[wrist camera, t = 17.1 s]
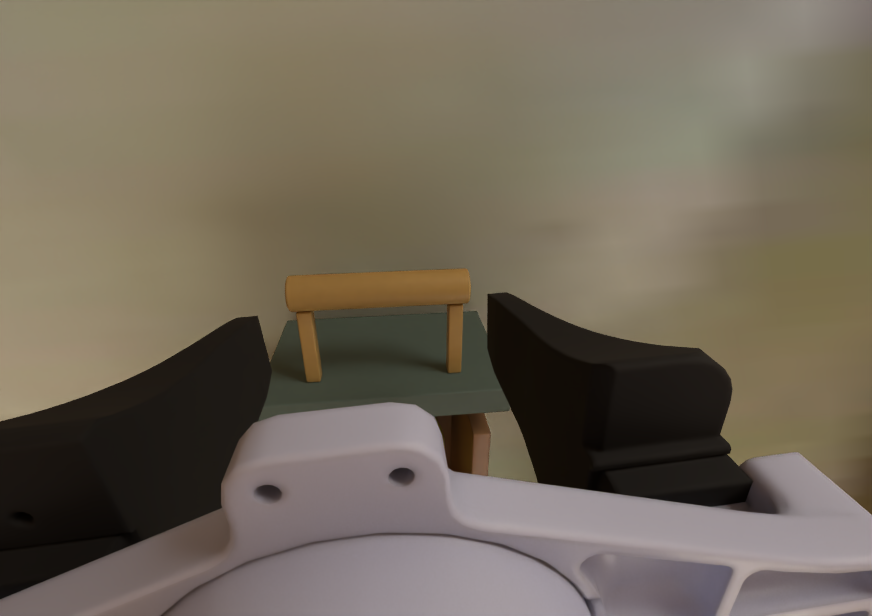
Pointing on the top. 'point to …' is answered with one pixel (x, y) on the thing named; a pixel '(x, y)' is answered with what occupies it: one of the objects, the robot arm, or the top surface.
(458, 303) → the drawer
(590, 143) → the top surface
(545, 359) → the robot arm
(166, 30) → the top surface
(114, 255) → the top surface
